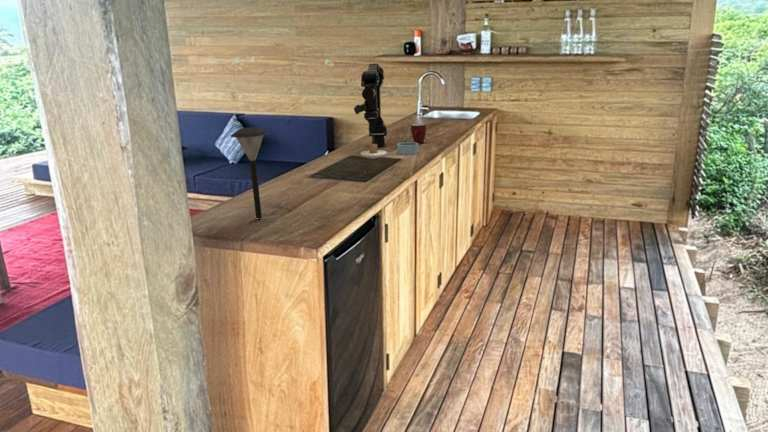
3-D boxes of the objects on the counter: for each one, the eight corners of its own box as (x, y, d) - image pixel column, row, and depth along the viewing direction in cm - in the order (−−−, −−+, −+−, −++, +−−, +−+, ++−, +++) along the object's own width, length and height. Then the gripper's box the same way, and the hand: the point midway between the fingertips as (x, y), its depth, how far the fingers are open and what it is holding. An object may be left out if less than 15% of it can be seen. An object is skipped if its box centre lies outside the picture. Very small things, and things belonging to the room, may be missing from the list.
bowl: (393, 154, 295) (392, 144, 294) (408, 151, 302) (408, 141, 300) (407, 156, 288) (407, 146, 286) (422, 153, 295) (422, 143, 293)
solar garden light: (278, 222, 194) (269, 130, 185) (239, 226, 192) (228, 133, 183) (277, 212, 205) (268, 124, 197) (240, 216, 203) (229, 127, 194)
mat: (350, 156, 296) (350, 154, 296) (374, 151, 306) (374, 149, 306) (372, 159, 285) (372, 158, 285) (396, 154, 295) (396, 153, 295)
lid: (355, 154, 296) (354, 145, 294) (374, 150, 304) (374, 141, 303) (372, 157, 287) (372, 147, 285) (392, 153, 295) (391, 143, 294)
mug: (424, 145, 316) (423, 126, 313) (409, 145, 318) (408, 126, 315) (427, 141, 325) (427, 123, 323) (413, 141, 327) (412, 123, 325)
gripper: (355, 96, 297) (357, 128, 301) (352, 100, 279) (354, 134, 284) (378, 95, 296) (379, 127, 301) (376, 99, 279) (378, 133, 283)
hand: (372, 130), depth 292 cm, fingers open, 9 cm apart
